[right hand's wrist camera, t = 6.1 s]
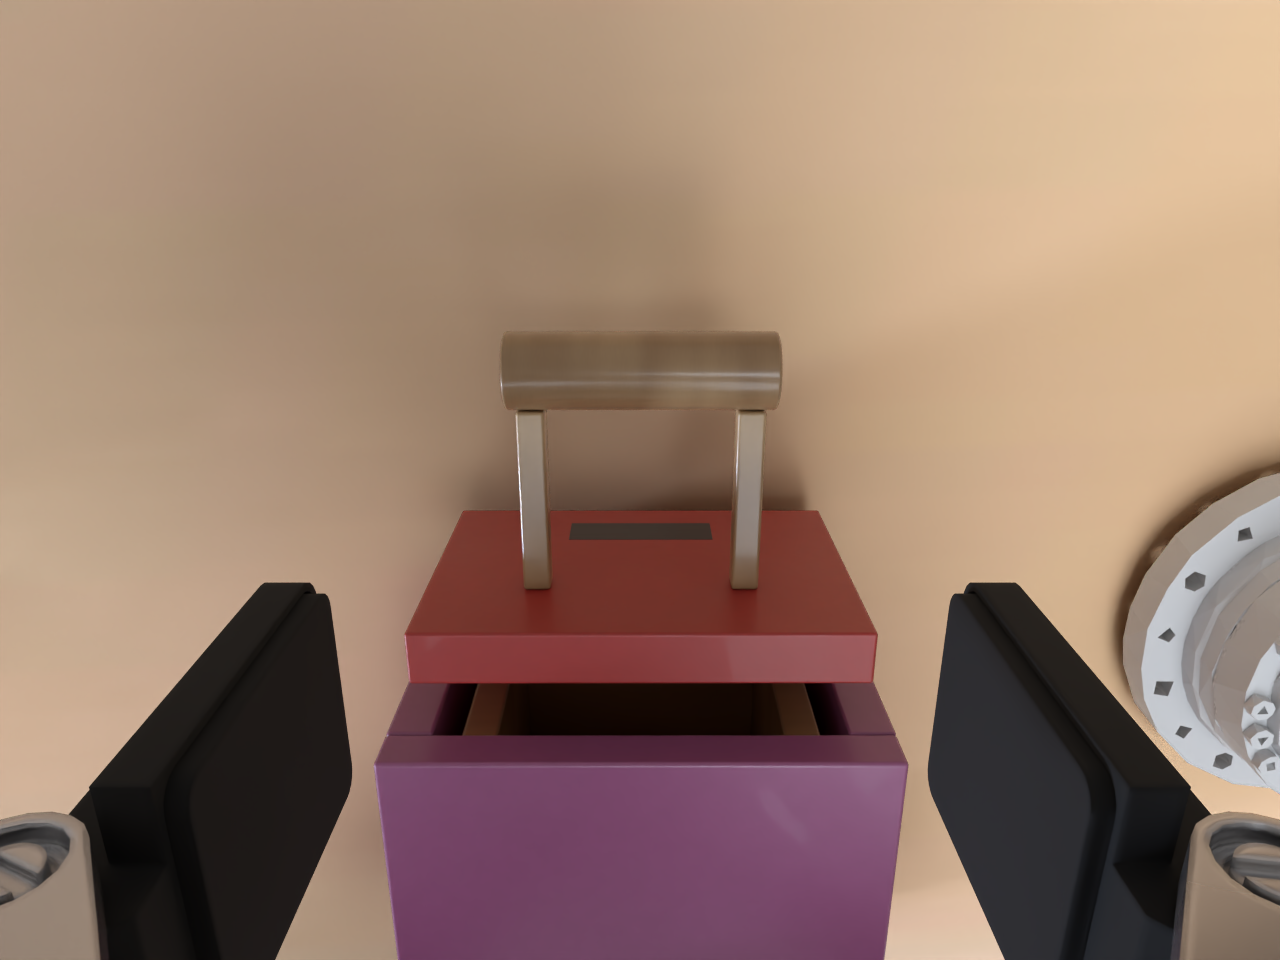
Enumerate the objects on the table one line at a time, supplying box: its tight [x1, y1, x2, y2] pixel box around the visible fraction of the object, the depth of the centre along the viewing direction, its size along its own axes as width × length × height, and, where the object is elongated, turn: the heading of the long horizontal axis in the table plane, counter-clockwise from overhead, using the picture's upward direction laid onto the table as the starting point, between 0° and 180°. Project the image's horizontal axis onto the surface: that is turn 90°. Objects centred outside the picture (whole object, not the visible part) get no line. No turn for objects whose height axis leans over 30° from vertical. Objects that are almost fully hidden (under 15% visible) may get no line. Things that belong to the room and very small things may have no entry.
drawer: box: [404, 332, 878, 736], centre depth 23 cm, size 18×10×7 cm, turn 0°
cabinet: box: [374, 681, 908, 960], centre depth 25 cm, size 13×11×9 cm
